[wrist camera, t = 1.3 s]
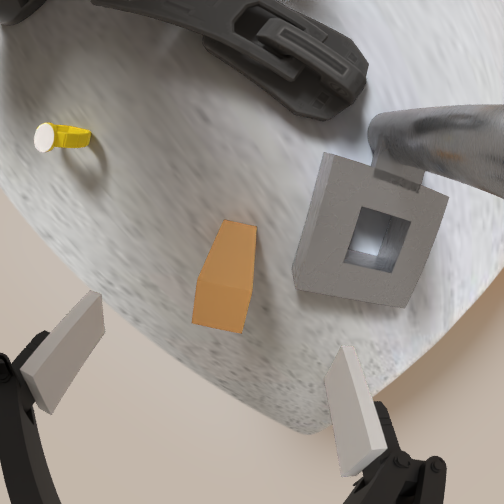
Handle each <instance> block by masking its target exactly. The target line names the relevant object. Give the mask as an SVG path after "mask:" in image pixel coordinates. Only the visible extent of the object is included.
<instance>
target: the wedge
mask: <svg viewBox="0 0 504 504" xmlns="http://www.w3.org/2000/svg"><path fill="white" fill-rule="evenodd" d="M256 231H257V227H256V226H252V225H247V224H242V223H238V222H233V221H228V220H223V223H222V225H221V227H220V229H219V232H218V234H217V236H216V238H215V240H214V243H213V245H212V247H211V249H210V252H209V254H208V256H207V259H206V261H205V263H204V265H203V268H202V270H201V272H200V275H199V277H198V279H197V286H196V293H195V301H194V309H193V317H192V323H193V324H198V325H202V326H207V327H211V328H216V329H221V330H226V331H231V332H236V333H241V334H242V331H243V327H244V323H245V319H246V315H247V311H248V307H249V303H250V299H251V295H252V290H253V275H254V261H255V246H256Z"/></svg>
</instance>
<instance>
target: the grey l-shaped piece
mask: <svg viewBox="0 0 504 504" xmlns="http://www.w3.org/2000/svg"><path fill="white" fill-rule="evenodd" d="M367 135H368V141H369V145H370V147H371V149H372V150H373V151H374V156H373V160H372V164H371V166H368V165H365V164H362V163H359V162H356V161H353V160H350V159H347V158H344V157H340V156H337V155H334V154H330V153H326V152H324V154H323V158H322V162H321V165H320V169H319V173H318V177H317V181H316V185H315V189H314V192H313V196H312V200H311V203H310V207H309V211H308V214H307V218H306V221H305V225H304V229H303V232H302V236H301V239H300V243H299V246H298V249H297V253H296V256H295V260H294V263H293V266H292V273H293V278H294V284H295V289H298V290H303V291H309V292H314V293H319V294H325V295H330V296H336V297H341V298H347V299H353V300H358V301H364V302H370V303H376V304H382V305H388V306H394V307H400V308H405V307H406V305H407V303H408V301H409V299H410V296H411V294H412V292H413V290H414V288H415V286H416V284H417V281H418V279H419V277H420V275H421V272H422V270H423V268H424V265H425V263H426V261H427V258H428V256H429V253H430V251H431V248H432V246H433V243H434V240H435V238H436V235H437V232H438V230H439V227H440V224H441V221H442V218H443V215H444V212H445V209H446V206H447V203H448V199H449V197H448V196H446V195H443V194H441V193H439V192H436V191H434V190H432V189H429V188H427V187H425V186H422V185H421V183H422V180H423V176H424V173H425V171H428V172H431V173H434V174H437V175H440V176H444V177H447V178H450V179H453V180H456V181H459V182H461V183H464V184H467V185H470V186H473V187H475V188H478V189H481V190H483V191H486V192H488V193H491V194H493V195H496V196H498V197H501V198H503V199H504V105H456V106H440V107H428V108H417V109H408V110H400V111H392V112H385V113H381V114H378V115H377V116H375V117H374V118H373V119H372V121H371V122H370V124H369V127H368V134H367ZM362 206H363V207H366V208H370V209H373V210H376V211H380V212H383V213H386V214H389V215H392V216H391V219H390V222H389V225H388V228H387V231H386V234H385V237H384V239H383V242H382V245H381V248H380V250H379V253H378V256H374V255H370V254H366V253H362V252H358V251H353V250H349V249H348V247H349V244H350V241H351V238H352V235H353V232H354V229H355V226H356V223H357V220H358V217H359V213H360V210H361V207H362Z"/></svg>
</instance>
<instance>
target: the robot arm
mask: <svg viewBox="0 0 504 504" xmlns="http://www.w3.org/2000/svg"><path fill="white" fill-rule="evenodd" d="M45 1H46V0H0V24H5V25H13V24H16V23H19V22H20V21H22V20H24V19H25V18H27V17H28V16H29V15H31V14H32V13H33V12H34V11H35V10H37V9H38V8H39V7H40V6H41V5H42V4H43V3H44V2H45ZM104 333H105V327H104V318H103V308H102V295H101V294H100V293H97V292H94V291H91V290H90V291H89V292H88V293H87V294H86V295H85V296H84V297H83V298H82V299H81V300H80V301H79V302H78V303H77V304H76V305H75V306H74V307H73V309H72V310H71V311H70V312H69V313H68V314H67V315H66V316H65V317H64V318H63V319H62V321H61V322H60V323H59V324H58V325H57V326H56V327H55V328H54V329H53V330H52V332H51V333H50V332H47V331H45V330H44V331H43V332H41V333H39V334H37V335H36V336H35V337H34V338H33V339H32V341H31V343H29V344H28V345H27V346H26V348H24V350H23V351H22V352H21V353H20V354H19V355H18V356H17V358H16V359H15V360H14V361H13V362H12V364H11V362H10V360H9V358H8V357H7V355H5V354H3V353H0V462H1V466H2V471H3V475H4V479H5V483H6V487H7V491H8V494H9V498H10V501H11V504H61V502H60V500H59V497H58V495H57V492H56V489H55V487H54V484H53V481H52V478H51V475H50V472H49V469H48V466H47V463H46V459H45V456H44V452H43V449H42V445H41V441H40V437H39V433H38V428H37V424H36V419H35V414H34V410H33V406H32V405H33V403H34V402H36V404H37V405H38V407H39V408H40V409H41V410H43V411H45V412H47V413H49V414H50V415H52V413H53V412H54V410H55V408H56V407H57V405H58V403H59V402H60V400H61V398H62V397H63V395H64V394H65V392H66V390H67V389H68V387H69V386H70V384H71V382H72V381H73V379H74V378H75V376H76V375H77V373H78V372H79V370H80V368H81V367H82V366H83V364H84V362H85V361H86V359H87V358H88V357H89V355H90V354H91V352H92V351H93V349H94V348H95V346H96V345H97V343H98V342H99V341H100V339H101V338H102V336H103V335H104ZM324 383H325V388H326V393H327V398H328V403H329V408H330V414H331V419H332V425H333V430H334V436H335V442H336V447H337V454H338V459H339V466H340V472H341V477H348V476H356V475H357V474H359V473H360V472H361V471H362V472H363V477H362V478H361V479H359V480H358V481H357V482H355V483H354V484H353V486H355V485H356V486H355V488H354V489H353V491H352V492H351V494H350V495H349V496H348V498H347V499H346V500H345V502H344V503H343V504H443V500H444V492H445V483H446V470H447V468H446V463H445V461H444V460H443V459H442V458H440V457H438V456H432V457H430V458H429V459H427V460H426V461H421V460H415V459H411V457H410V455H409V454H407V453H406V452H404V451H401V449H400V447H399V444H398V441H397V437H396V434H395V431H394V428H393V426H392V422H391V419H390V417H389V413H388V411H387V408H386V407H385V406H384V405H383V403H382V402H380V401H379V402H378V401H377V402H375V401H373V399H372V396H371V393H370V390H369V387H368V384H367V381H366V379H365V376H364V373H363V370H362V367H361V364H360V361H359V359H358V356H357V353H356V350H355V348H354V346H346V345H341V347H340V349H339V351H338V353H337V355H336V357H335V359H334V361H333V363H332V365H331V367H330V369H329V370H328V372H327V374H326V376H325V378H324Z"/></svg>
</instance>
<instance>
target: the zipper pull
mask: <svg viewBox="0 0 504 504" xmlns="http://www.w3.org/2000/svg"><path fill="white" fill-rule="evenodd" d="M91 3H92V4H94V5H98V6H103V7H108V8H113V9H118V10H122V11H127V12H132V13H137V14H140V15H144V16H148V17H151V18H155V19H158V20H162V21H165V22H168V23H171V24H174V25H177V26H180V27H183V28H186V29H189V30H191V31H194V32H197V33H199V34H202V35H203V45H204V46H205V48H206V49H207V51H209V52H210V53H211V54H213V55H215V56H216V57H218V58H219V59H221V60H222V61H224V62H225V63H227V64H228V65H230V66H231V67H233V68H234V69H236V70H237V71H239V72H240V73H241V74H243V75H244V76H246V77H247V78H249V79H250V80H251V81H253V82H254V83H255V84H257V85H258V86H260V87H261V88H262V89H264V90H265V91H266V92H268V93H269V94H270V95H271V96H273V97H274V98H275V99H276V100H277V101H279V102H280V103H281V104H282V105H283V106H285V107H286V108H287V109H288V110H289V111H291V112H292V113H293V114H295V115H299V116H303V117H307V118H312V119H316V120H319V121H326V120H329V119H331V118H332V117H334V116H335V115H337V114H338V113H340V112H341V111H343V110H344V109H346V108H347V107H349V106H350V105H352V104H353V102H354V101H355V100H356V98H357V97H358V95H359V94H360V93H361V91H362V90H363V88H364V86H365V84H366V74H367V70H368V66H369V64H368V62H367V60H366V59H365V58H364V56H363V55H362V53H361V52H360V50H359V49H358V48H357V46H356V45H355V44H354V42H353V41H352V40H351V39H350V38H348V37H346V36H344V35H343V34H341V33H339V32H337V31H335V30H333V29H331V28H329V27H327V26H326V25H324V24H322V23H320V22H318V21H316V20H313V19H311V18H309V17H307V16H305V15H303V14H301V13H299V12H296V11H294V10H292V9H290V8H288V7H286V6H285V5H283V4H281V3H280V2H278V1H276V0H91Z"/></svg>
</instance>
